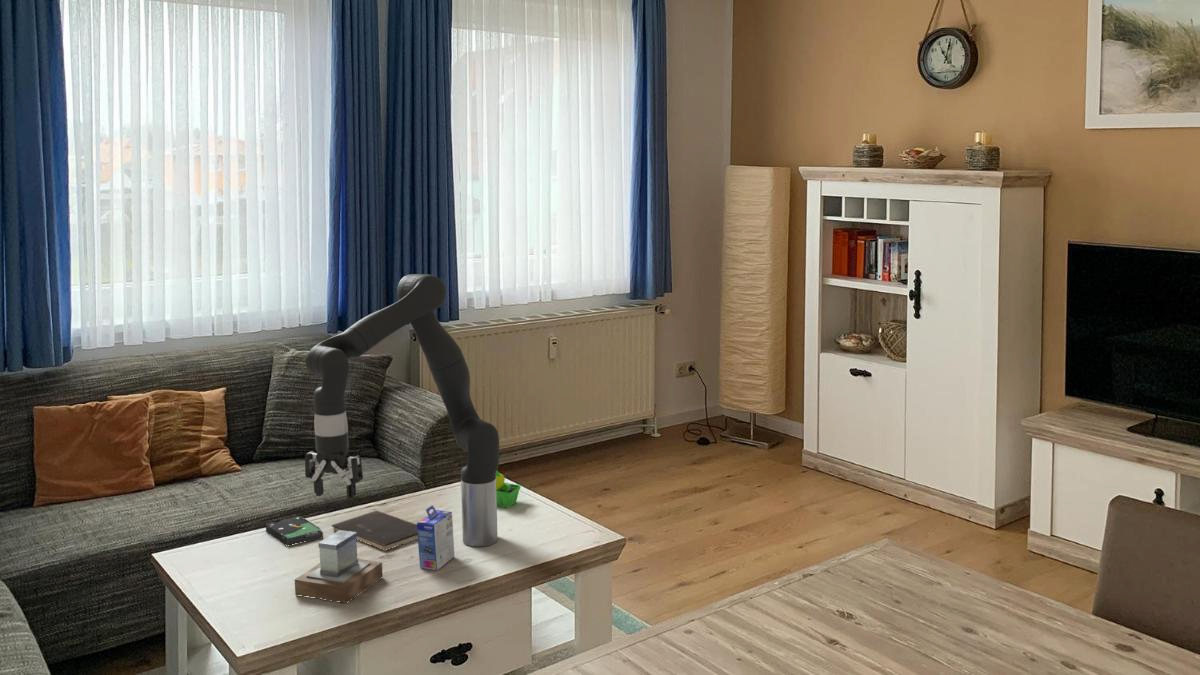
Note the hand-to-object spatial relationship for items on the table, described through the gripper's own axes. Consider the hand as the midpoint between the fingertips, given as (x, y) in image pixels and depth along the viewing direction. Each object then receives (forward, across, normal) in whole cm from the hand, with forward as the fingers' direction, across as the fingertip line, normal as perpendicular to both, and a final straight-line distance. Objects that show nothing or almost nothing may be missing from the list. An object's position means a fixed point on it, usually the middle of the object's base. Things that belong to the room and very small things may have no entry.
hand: (335, 496), depth 256 cm
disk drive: (+23, +31, -26) cm, 47 cm away
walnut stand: (+22, 0, 0) cm, 23 cm away
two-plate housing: (+18, 0, 0) cm, 18 cm away
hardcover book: (+24, +9, -35) cm, 43 cm away
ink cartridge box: (+23, -15, -21) cm, 34 cm away
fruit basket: (+23, -11, -67) cm, 72 cm away
